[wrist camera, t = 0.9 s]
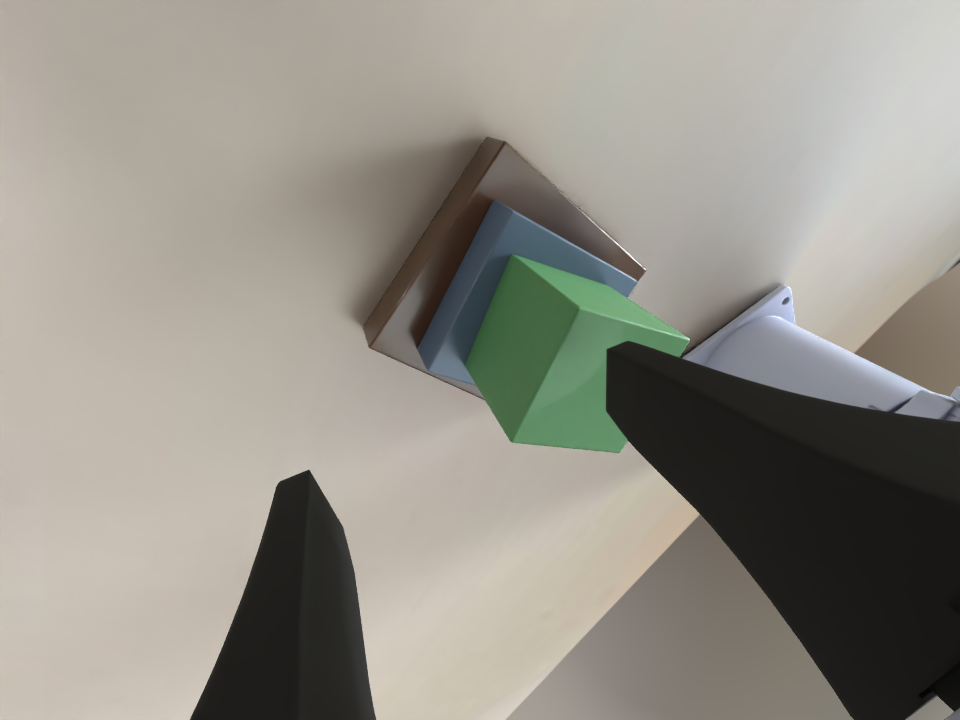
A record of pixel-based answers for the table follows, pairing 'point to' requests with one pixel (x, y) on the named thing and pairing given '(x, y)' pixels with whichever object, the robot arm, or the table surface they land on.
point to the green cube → (557, 355)
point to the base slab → (451, 235)
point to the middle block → (482, 274)
